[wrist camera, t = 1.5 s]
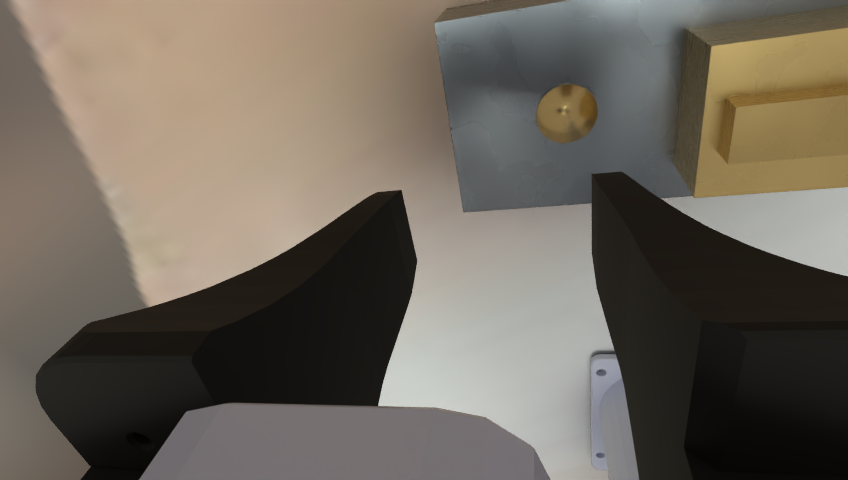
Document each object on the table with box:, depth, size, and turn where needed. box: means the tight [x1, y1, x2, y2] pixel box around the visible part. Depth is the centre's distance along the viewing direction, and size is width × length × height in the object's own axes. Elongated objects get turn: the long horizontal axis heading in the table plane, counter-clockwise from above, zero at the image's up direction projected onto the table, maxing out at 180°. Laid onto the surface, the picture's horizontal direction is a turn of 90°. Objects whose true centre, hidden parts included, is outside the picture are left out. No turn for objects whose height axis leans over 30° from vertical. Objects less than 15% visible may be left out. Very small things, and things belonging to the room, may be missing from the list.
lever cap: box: [674, 5, 848, 198], centre depth 14 cm, size 4×7×3 cm, turn 101°
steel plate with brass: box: [434, 0, 848, 212], centre depth 17 cm, size 7×20×3 cm, turn 101°
